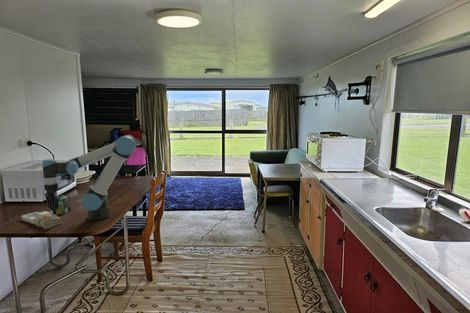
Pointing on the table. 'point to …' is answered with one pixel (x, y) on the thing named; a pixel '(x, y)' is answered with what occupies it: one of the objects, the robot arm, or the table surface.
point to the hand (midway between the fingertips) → (53, 219)
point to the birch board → (47, 222)
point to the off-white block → (42, 214)
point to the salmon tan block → (48, 217)
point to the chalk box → (63, 205)
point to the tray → (30, 217)
